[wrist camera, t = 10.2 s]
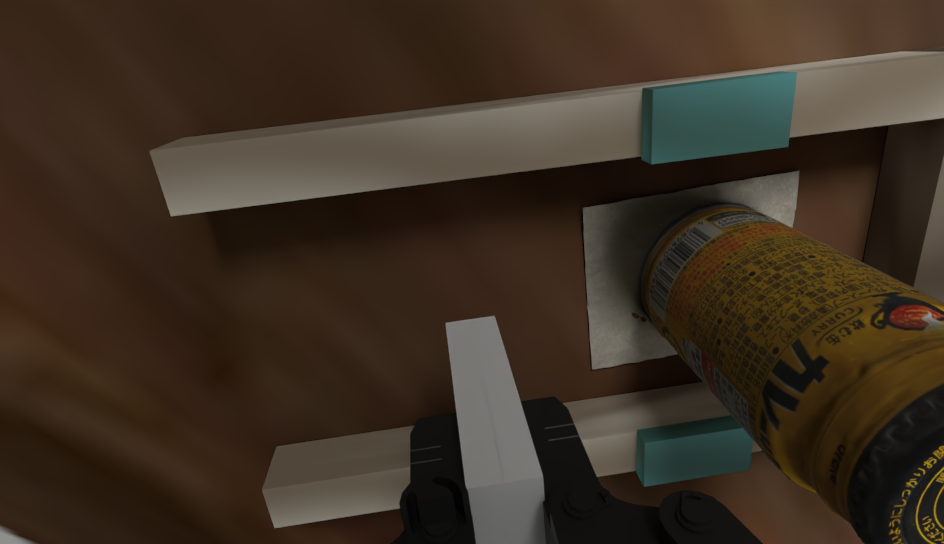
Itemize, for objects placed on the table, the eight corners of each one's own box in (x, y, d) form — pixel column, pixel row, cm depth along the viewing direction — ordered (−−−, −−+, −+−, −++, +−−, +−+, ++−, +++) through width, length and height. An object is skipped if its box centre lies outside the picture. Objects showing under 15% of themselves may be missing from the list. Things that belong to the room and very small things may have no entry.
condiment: (780, 333, 24) (1097, 580, 13) (590, 367, 24) (748, 650, 13) (795, 168, 21) (1219, 304, 10) (580, 205, 21) (772, 386, 10)
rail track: (181, 134, 18) (135, 152, 15) (945, 43, 20) (1042, 43, 17) (288, 484, 24) (270, 547, 21) (870, 393, 26) (931, 440, 23)
